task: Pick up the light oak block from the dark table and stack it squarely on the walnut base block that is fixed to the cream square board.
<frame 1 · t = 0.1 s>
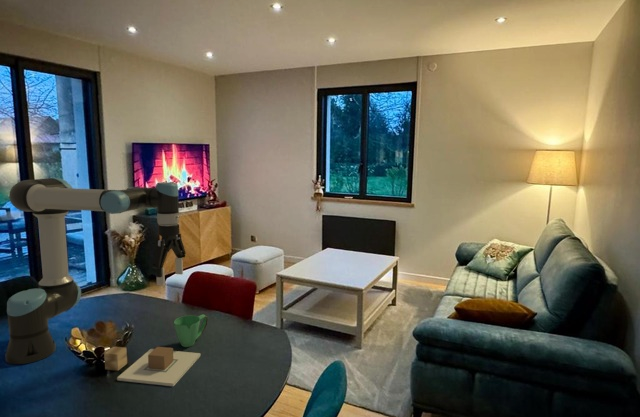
hand: (170, 279, 150), 28 cm above the table, fingers open, 13 cm apart
mug: (192, 342, 160), on the table
cream square board: (161, 367, 140), on the table
oak block: (116, 366, 140), on the table
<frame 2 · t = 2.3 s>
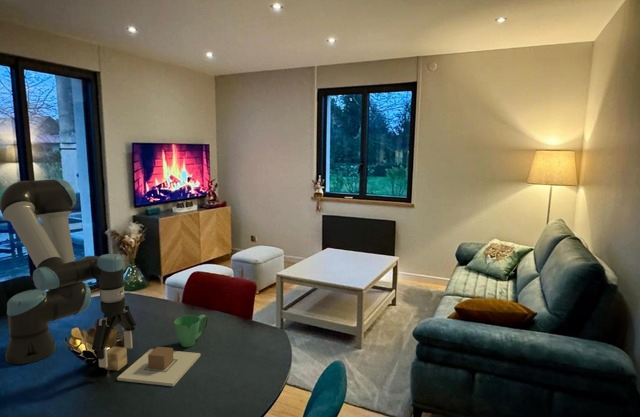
hand: (116, 356, 140), 4 cm above the table, fingers open, 13 cm apart
nothing on the table moved.
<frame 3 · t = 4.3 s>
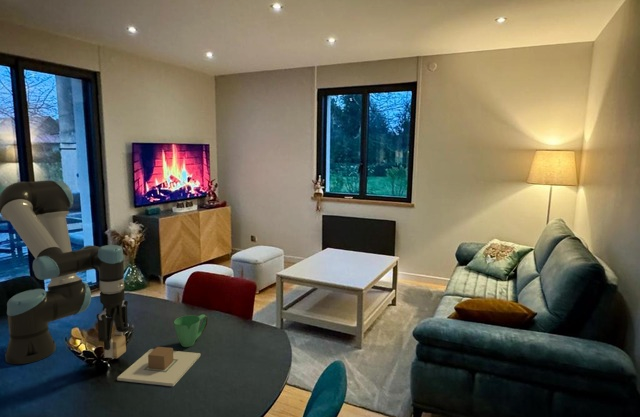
hand: (114, 352, 140), 5 cm above the table, fingers closed on oak block, 5 cm apart
oak block: (115, 354, 140), point 4 cm above the table, touching gripper
everything else where it was.
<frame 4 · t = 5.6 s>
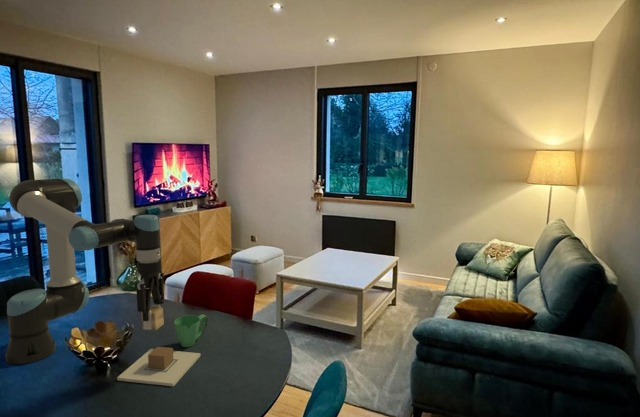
hand: (152, 325, 138), 16 cm above the table, fingers closed on oak block, 5 cm apart
oak block: (153, 326, 138), point 15 cm above the table, touching gripper
everything else where it was.
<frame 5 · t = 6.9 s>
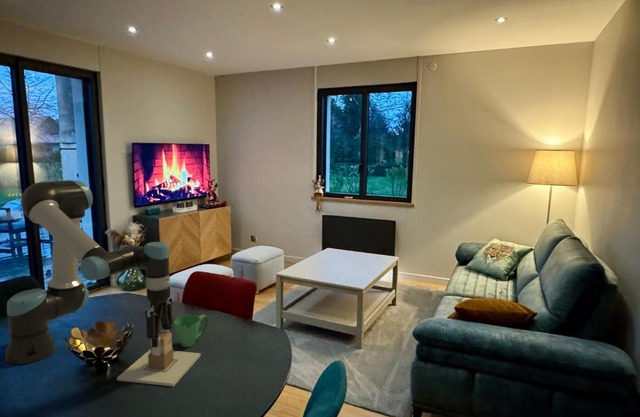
hand: (161, 350, 139), 6 cm above the table, fingers closed on cream square board, oak block, 5 cm apart
oak block: (161, 351, 139), point 6 cm above the table, touching cream square board, gripper
everything else where it was.
when the fingers open (6 cm above the table, at t = 7.8 s): oak block stays where it is, resting on cream square board.
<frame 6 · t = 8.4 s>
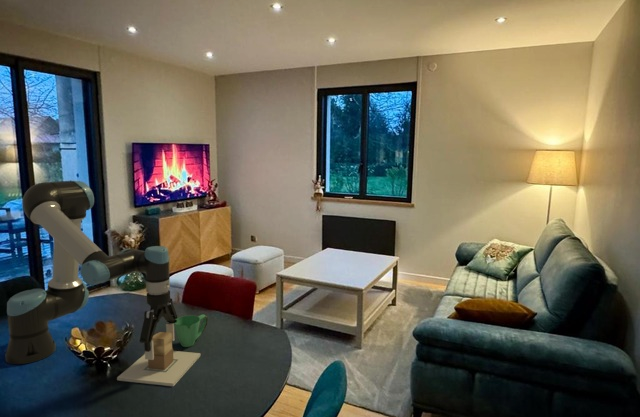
hand: (160, 349, 139), 7 cm above the table, fingers open, 13 cm apart
oak block: (161, 351, 139), point 6 cm above the table, touching cream square board
everything else where it was.
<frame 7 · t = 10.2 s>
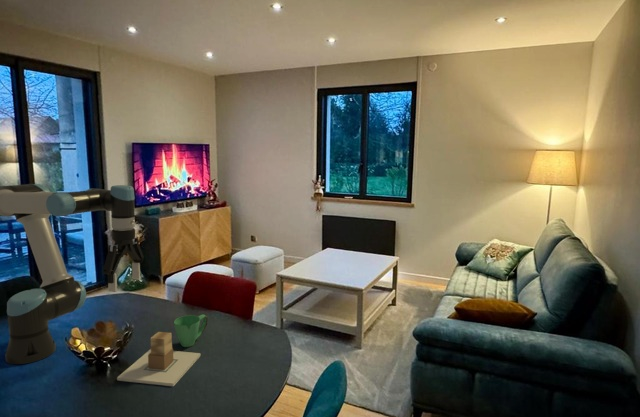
hand: (125, 285, 145), 27 cm above the table, fingers open, 13 cm apart
nothing on the table moved.
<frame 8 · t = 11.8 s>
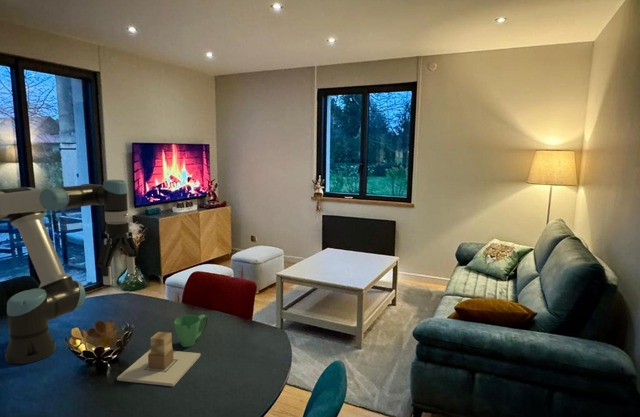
hand: (120, 278, 147), 29 cm above the table, fingers open, 13 cm apart
nothing on the table moved.
at the end: oak block 0.4 cm off-centre on the cream square board, point 6.0 cm above the cream square board's base; oak block tilted 0°; the gripper is holding nothing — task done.
